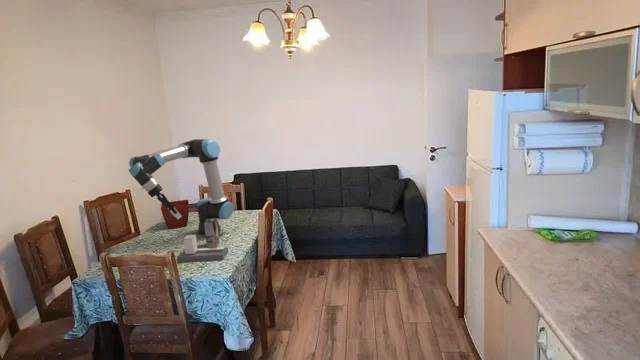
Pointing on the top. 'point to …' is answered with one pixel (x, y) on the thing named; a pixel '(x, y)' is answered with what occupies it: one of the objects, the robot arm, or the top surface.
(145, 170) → the robot arm
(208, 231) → the coffee box
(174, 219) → the plant pot
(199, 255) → the switch deck
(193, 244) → the switch tab
